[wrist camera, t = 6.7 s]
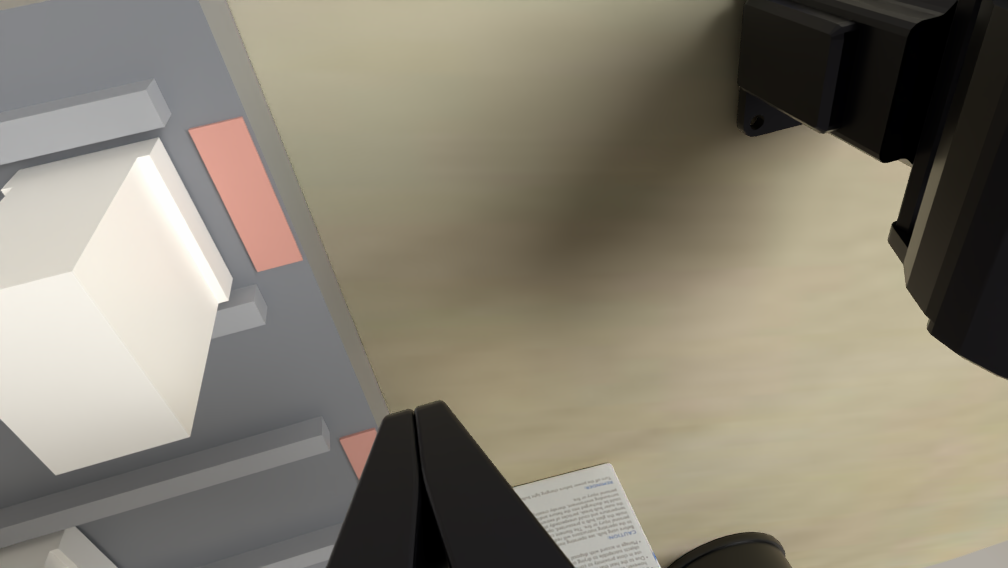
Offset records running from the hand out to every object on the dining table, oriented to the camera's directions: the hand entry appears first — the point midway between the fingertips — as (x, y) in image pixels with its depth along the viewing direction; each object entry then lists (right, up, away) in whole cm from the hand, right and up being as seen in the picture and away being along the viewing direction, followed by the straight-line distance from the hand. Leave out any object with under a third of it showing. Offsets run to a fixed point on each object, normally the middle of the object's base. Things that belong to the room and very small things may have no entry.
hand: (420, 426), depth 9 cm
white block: (-8, +3, +6) cm, 11 cm away
